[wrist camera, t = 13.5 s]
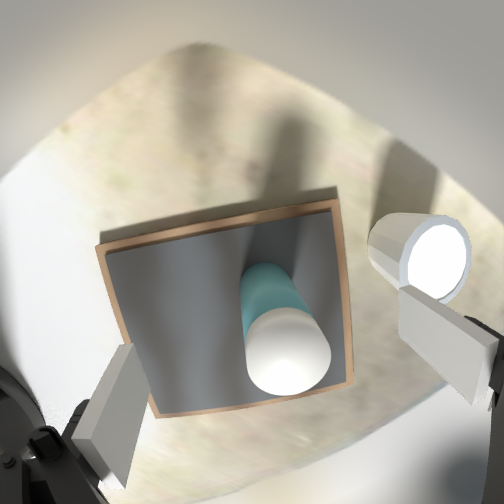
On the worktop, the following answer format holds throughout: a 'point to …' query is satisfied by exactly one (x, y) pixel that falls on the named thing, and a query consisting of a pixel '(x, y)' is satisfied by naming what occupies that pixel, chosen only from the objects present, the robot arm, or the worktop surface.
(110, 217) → the worktop surface
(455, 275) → the white tapered cup
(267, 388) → the teal bottle
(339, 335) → the slate board
